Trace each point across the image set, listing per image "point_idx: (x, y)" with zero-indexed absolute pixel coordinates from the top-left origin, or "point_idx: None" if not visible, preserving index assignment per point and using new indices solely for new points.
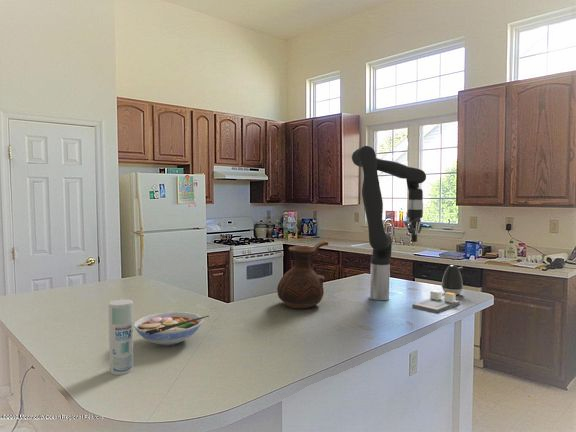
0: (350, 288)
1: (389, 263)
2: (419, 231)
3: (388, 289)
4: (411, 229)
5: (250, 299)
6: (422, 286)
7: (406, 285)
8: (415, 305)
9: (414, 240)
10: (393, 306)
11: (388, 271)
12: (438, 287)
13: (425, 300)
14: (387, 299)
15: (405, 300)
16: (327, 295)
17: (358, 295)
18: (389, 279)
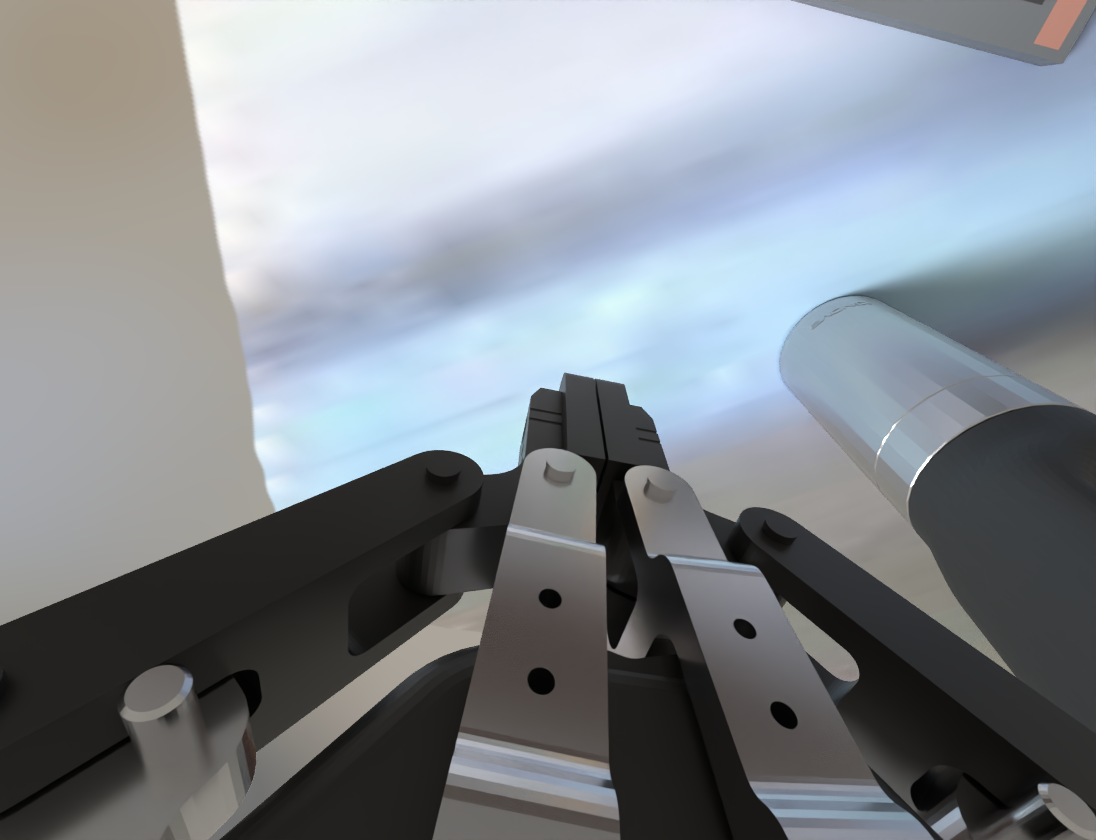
0: None
1: (1047, 408)
2: (428, 487)
3: (895, 316)
4: (971, 666)
5: None
6: (325, 239)
7: (385, 343)
8: (1080, 28)
9: (637, 412)
10: (1034, 200)
11: (1004, 373)
12: (253, 111)
13: (899, 3)
14: (868, 297)
15: (832, 190)
16: (873, 561)
17: (813, 461)
18: (910, 346)
